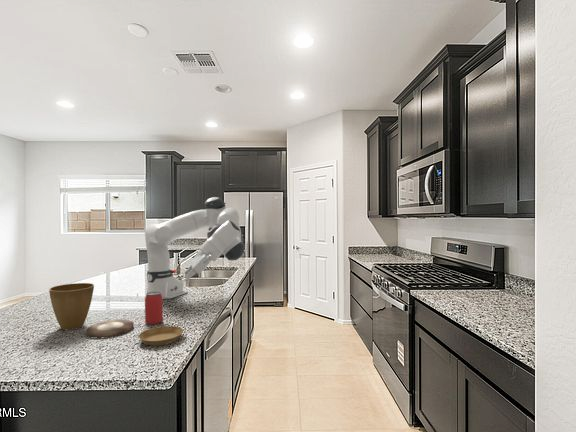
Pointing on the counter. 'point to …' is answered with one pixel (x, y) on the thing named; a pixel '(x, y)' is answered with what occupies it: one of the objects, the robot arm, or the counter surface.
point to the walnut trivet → (109, 328)
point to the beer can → (153, 308)
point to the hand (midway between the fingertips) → (186, 276)
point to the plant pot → (71, 304)
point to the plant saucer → (160, 335)
